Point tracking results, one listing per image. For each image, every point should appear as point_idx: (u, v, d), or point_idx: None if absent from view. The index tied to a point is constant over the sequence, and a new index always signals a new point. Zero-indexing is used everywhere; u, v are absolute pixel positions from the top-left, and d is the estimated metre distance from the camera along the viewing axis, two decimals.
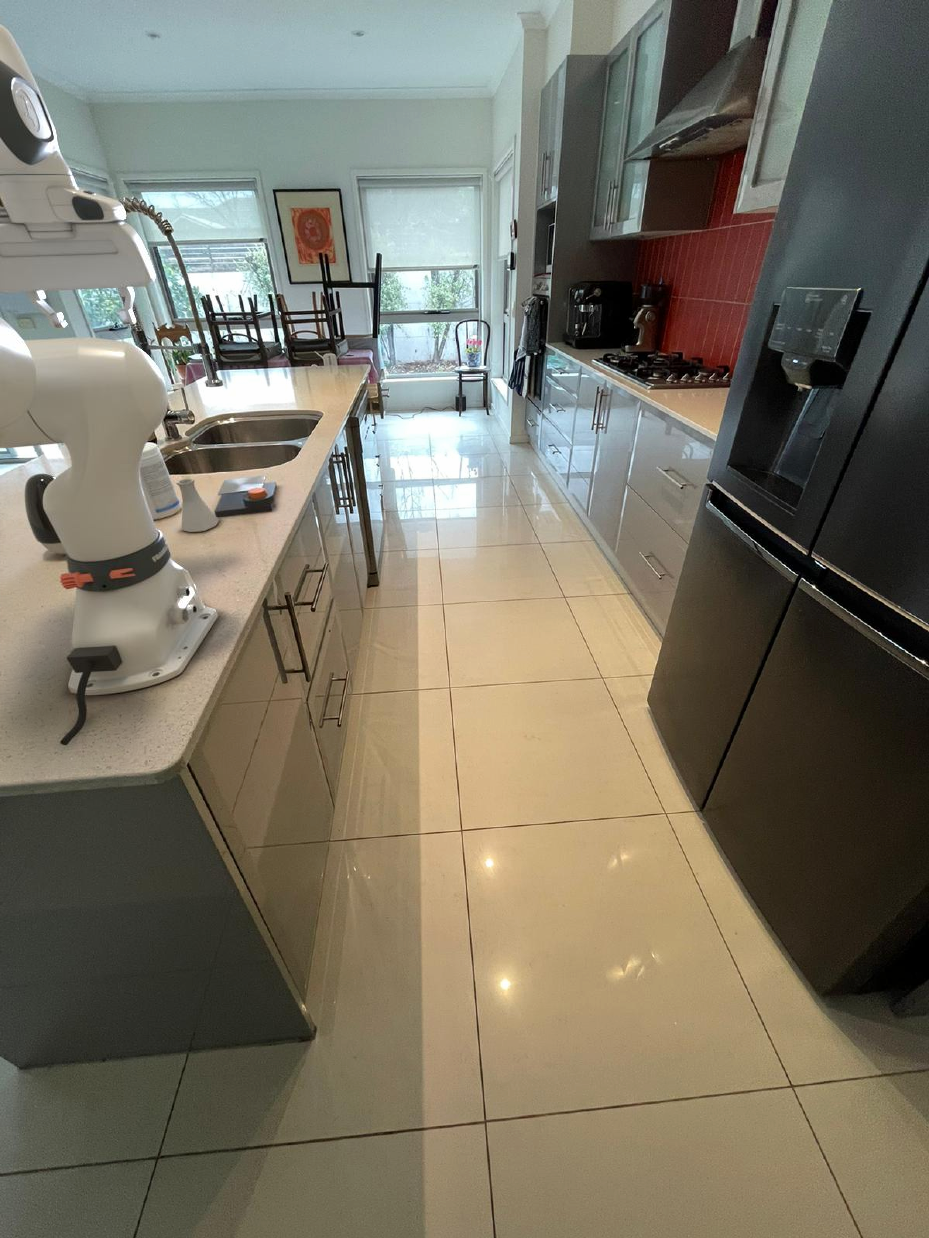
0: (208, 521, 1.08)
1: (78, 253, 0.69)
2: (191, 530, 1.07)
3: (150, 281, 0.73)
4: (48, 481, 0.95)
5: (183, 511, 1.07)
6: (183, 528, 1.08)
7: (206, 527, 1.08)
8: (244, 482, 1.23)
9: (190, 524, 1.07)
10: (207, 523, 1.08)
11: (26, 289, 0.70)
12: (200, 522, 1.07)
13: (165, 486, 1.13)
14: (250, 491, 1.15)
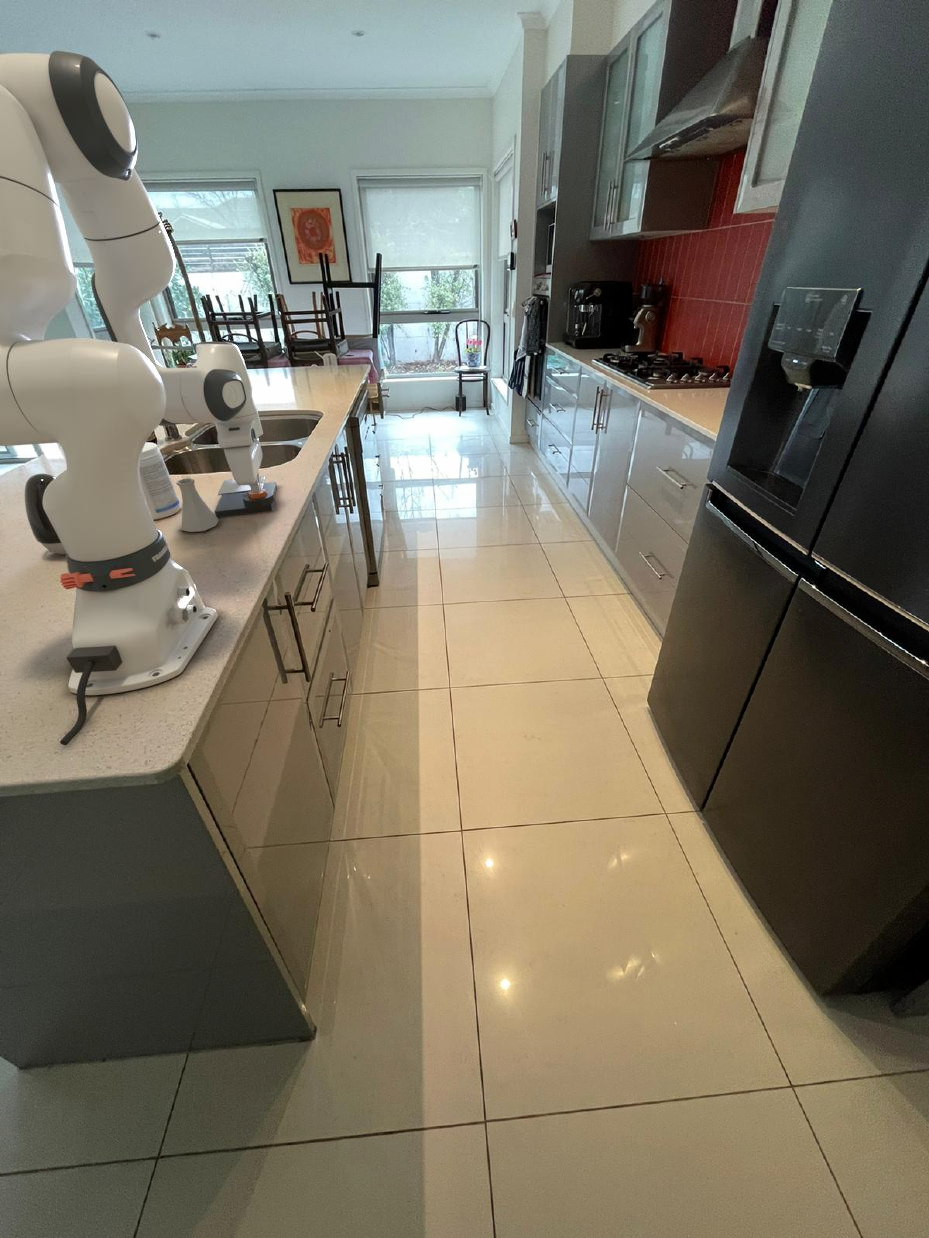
0: (208, 521, 1.08)
1: None
2: (191, 530, 1.07)
3: (239, 483, 1.05)
4: (48, 481, 0.95)
5: (183, 511, 1.07)
6: (183, 528, 1.08)
7: (206, 527, 1.08)
8: None
9: (190, 524, 1.07)
10: (207, 523, 1.08)
11: None
12: (200, 522, 1.07)
13: (165, 486, 1.13)
14: (250, 492, 1.15)
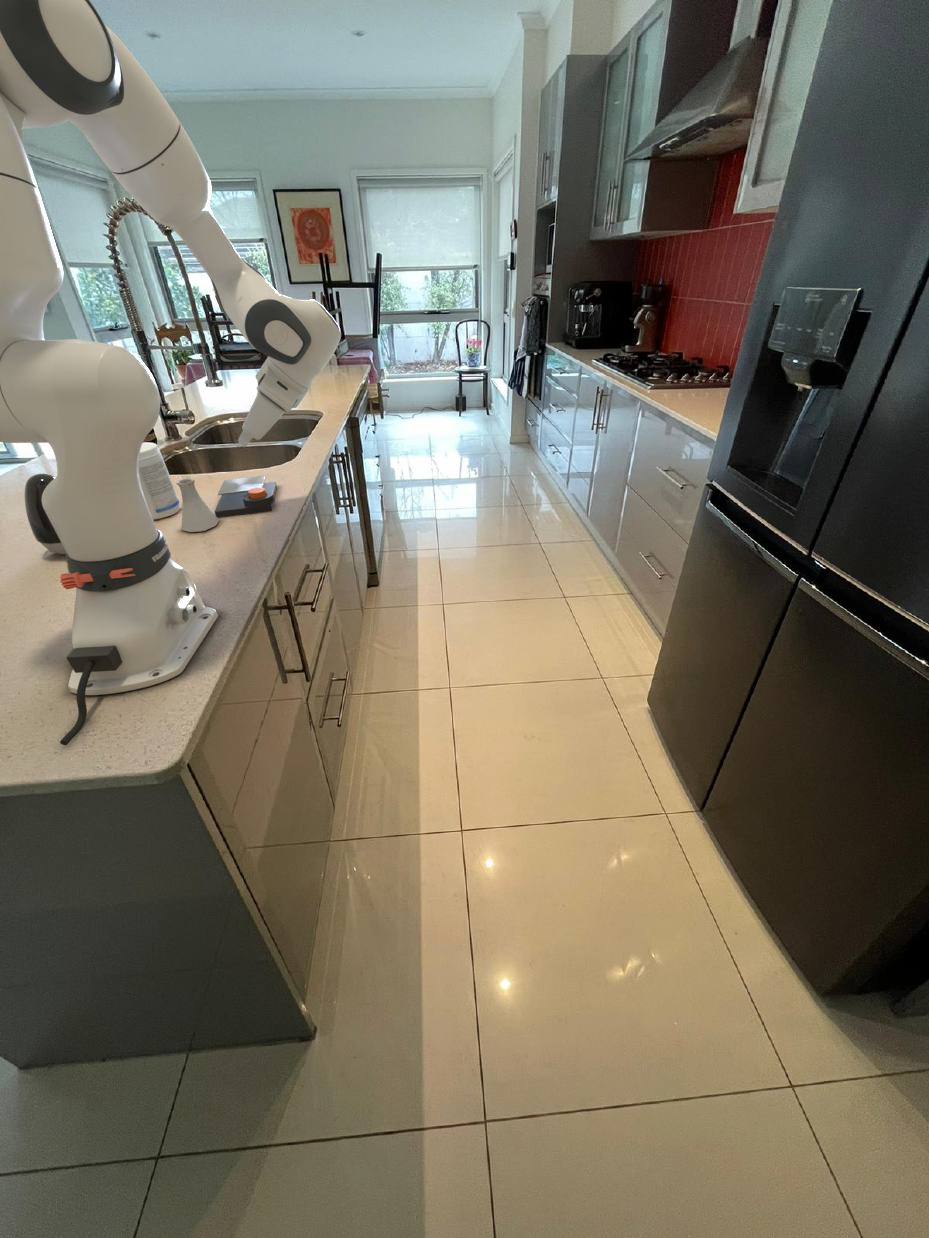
0: (208, 521, 1.08)
1: None
2: (191, 530, 1.07)
3: (245, 429, 0.93)
4: (48, 481, 0.95)
5: (183, 511, 1.07)
6: (183, 528, 1.08)
7: (206, 527, 1.08)
8: (244, 482, 1.23)
9: (190, 524, 1.07)
10: (207, 523, 1.08)
11: None
12: (200, 522, 1.07)
13: (165, 486, 1.13)
14: (250, 491, 1.15)
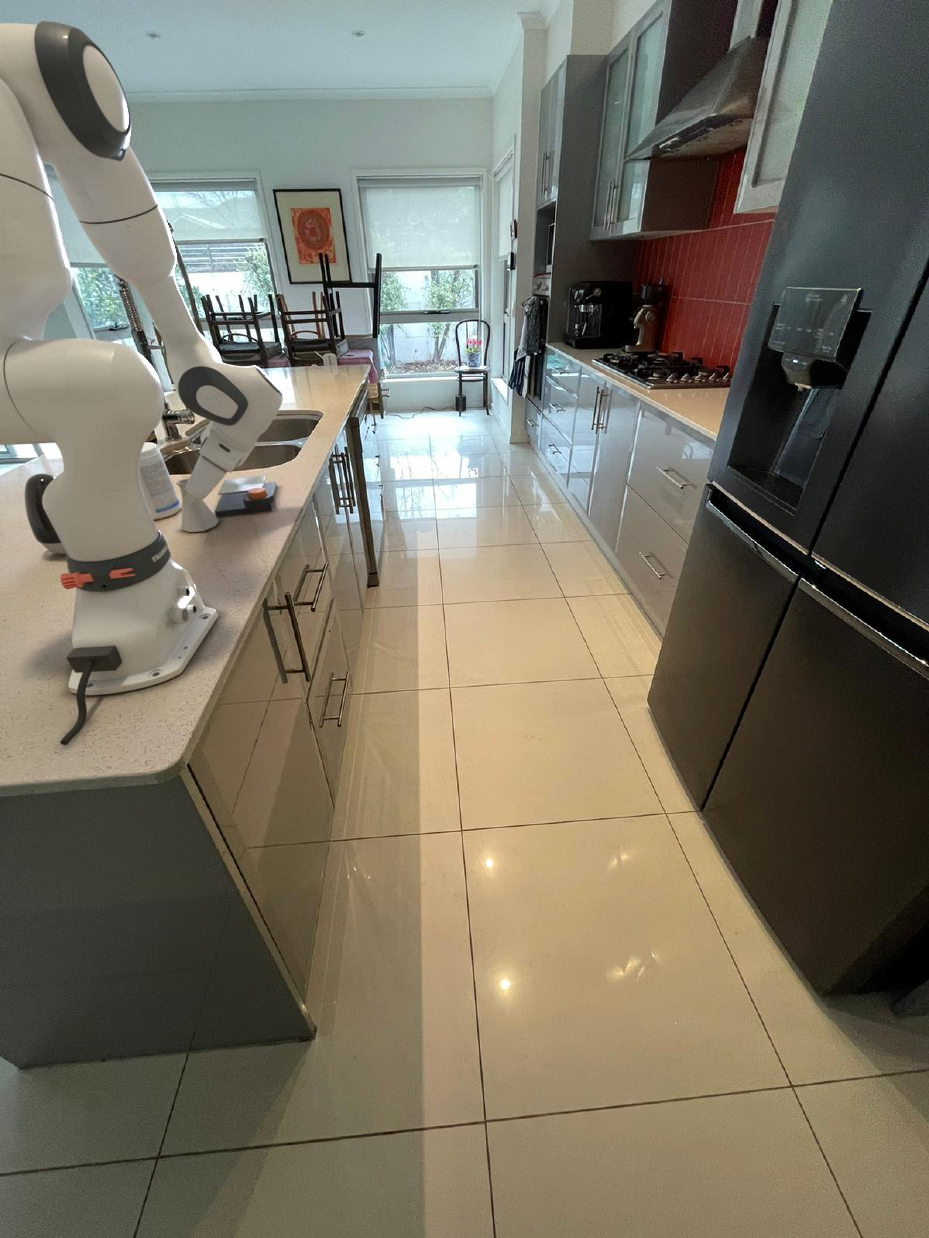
0: (207, 521, 1.08)
1: None
2: (191, 530, 1.08)
3: (188, 490, 0.97)
4: (48, 481, 0.95)
5: (183, 511, 1.07)
6: (183, 528, 1.08)
7: (206, 527, 1.08)
8: (244, 482, 1.23)
9: (190, 524, 1.07)
10: (207, 523, 1.08)
11: None
12: (200, 522, 1.07)
13: (165, 486, 1.13)
14: (250, 491, 1.15)
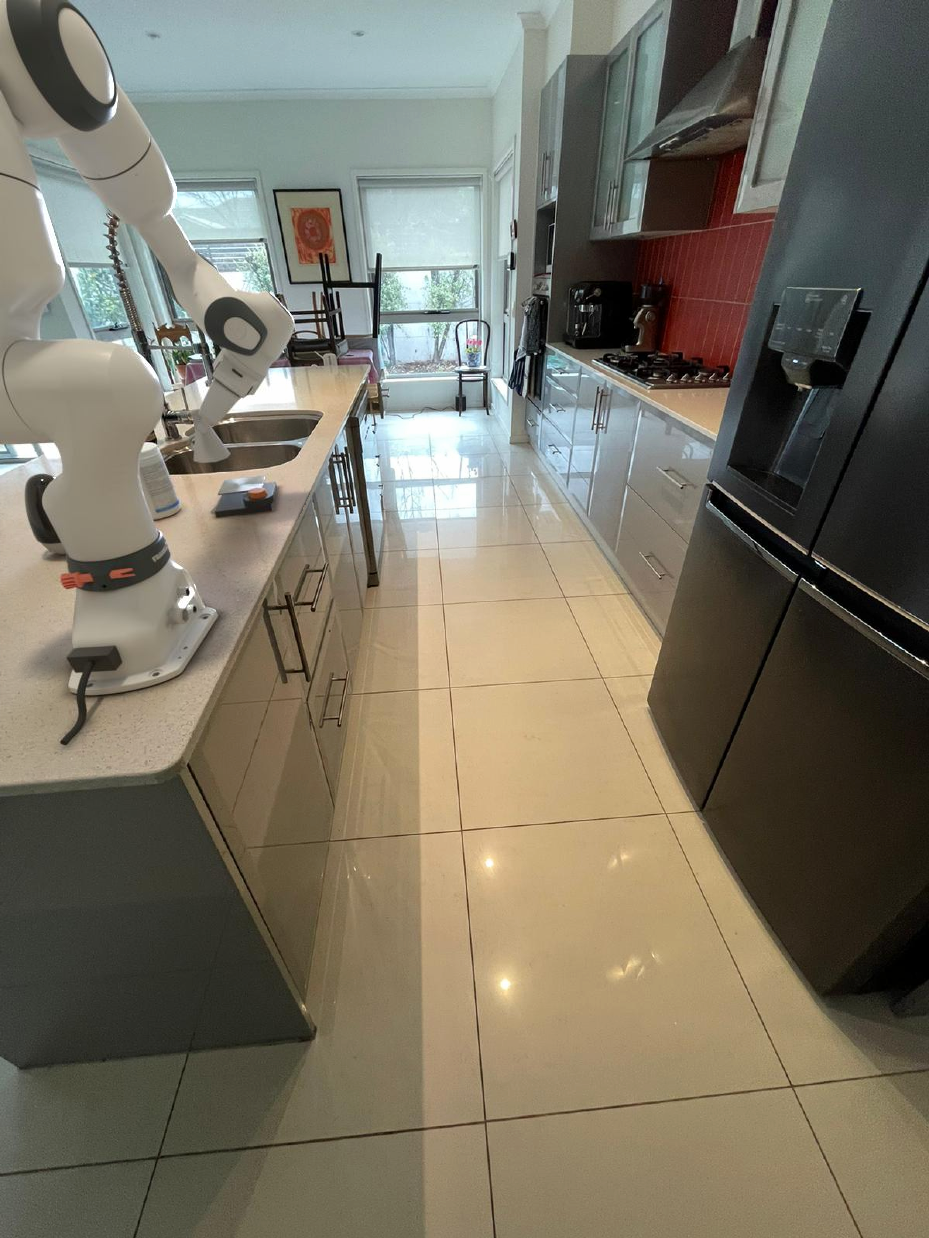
0: (219, 452, 1.10)
1: None
2: (203, 461, 1.09)
3: (201, 414, 0.98)
4: (48, 481, 0.95)
5: (195, 442, 1.08)
6: (195, 459, 1.09)
7: (218, 459, 1.09)
8: (244, 482, 1.23)
9: (202, 454, 1.08)
10: (219, 454, 1.10)
11: None
12: (212, 452, 1.08)
13: (165, 486, 1.13)
14: (250, 491, 1.15)
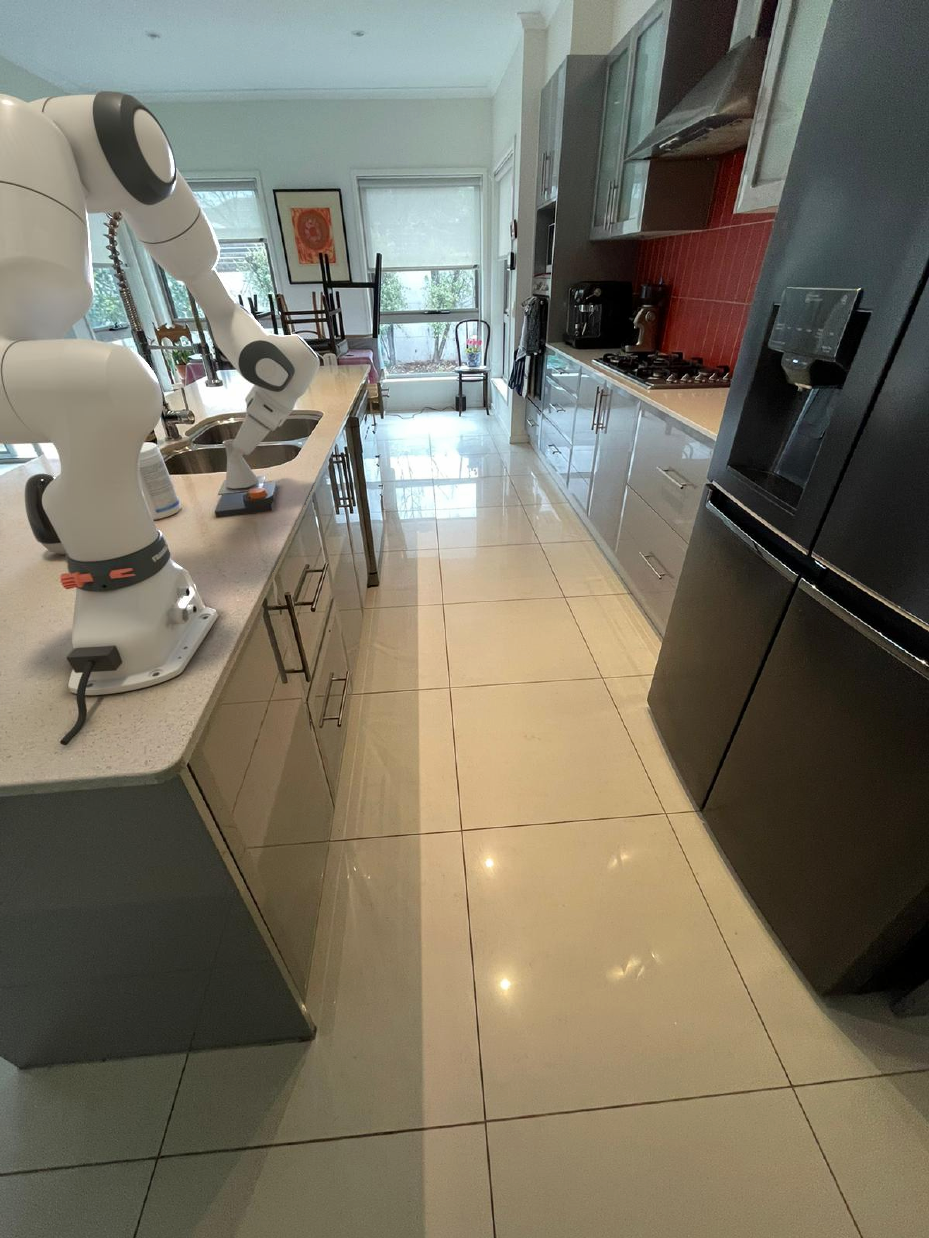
0: (249, 479, 1.20)
1: None
2: (234, 487, 1.19)
3: (235, 446, 1.08)
4: (48, 481, 0.95)
5: (227, 469, 1.18)
6: (227, 485, 1.19)
7: (248, 485, 1.19)
8: None
9: (234, 481, 1.18)
10: (248, 480, 1.20)
11: None
12: (242, 479, 1.18)
13: (165, 486, 1.13)
14: (250, 491, 1.15)
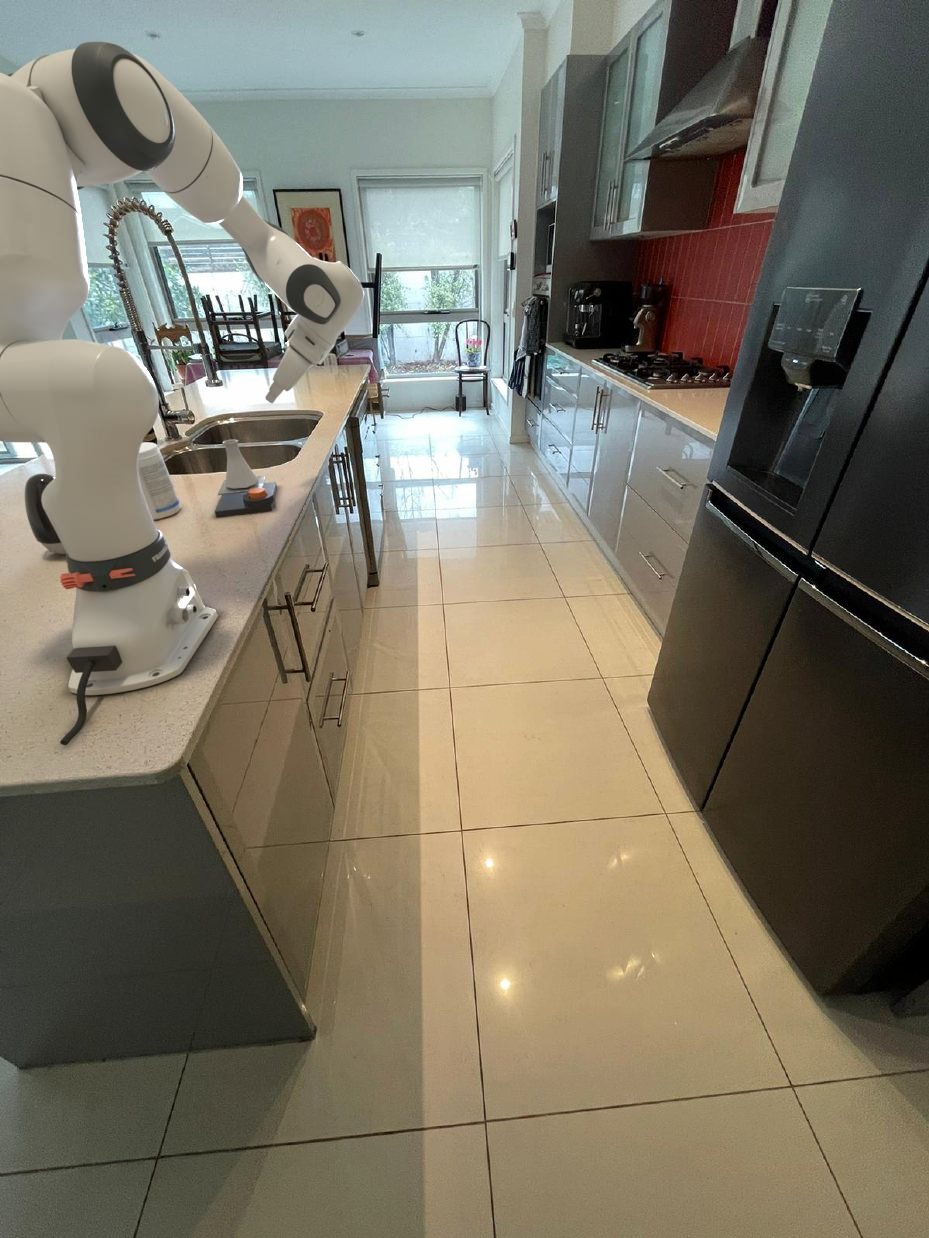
0: (249, 479, 1.20)
1: None
2: (234, 487, 1.19)
3: (275, 380, 1.01)
4: (48, 481, 0.95)
5: (227, 469, 1.18)
6: (227, 485, 1.19)
7: (248, 485, 1.19)
8: None
9: (234, 481, 1.18)
10: (248, 480, 1.20)
11: None
12: (242, 479, 1.18)
13: (165, 486, 1.13)
14: (250, 491, 1.15)
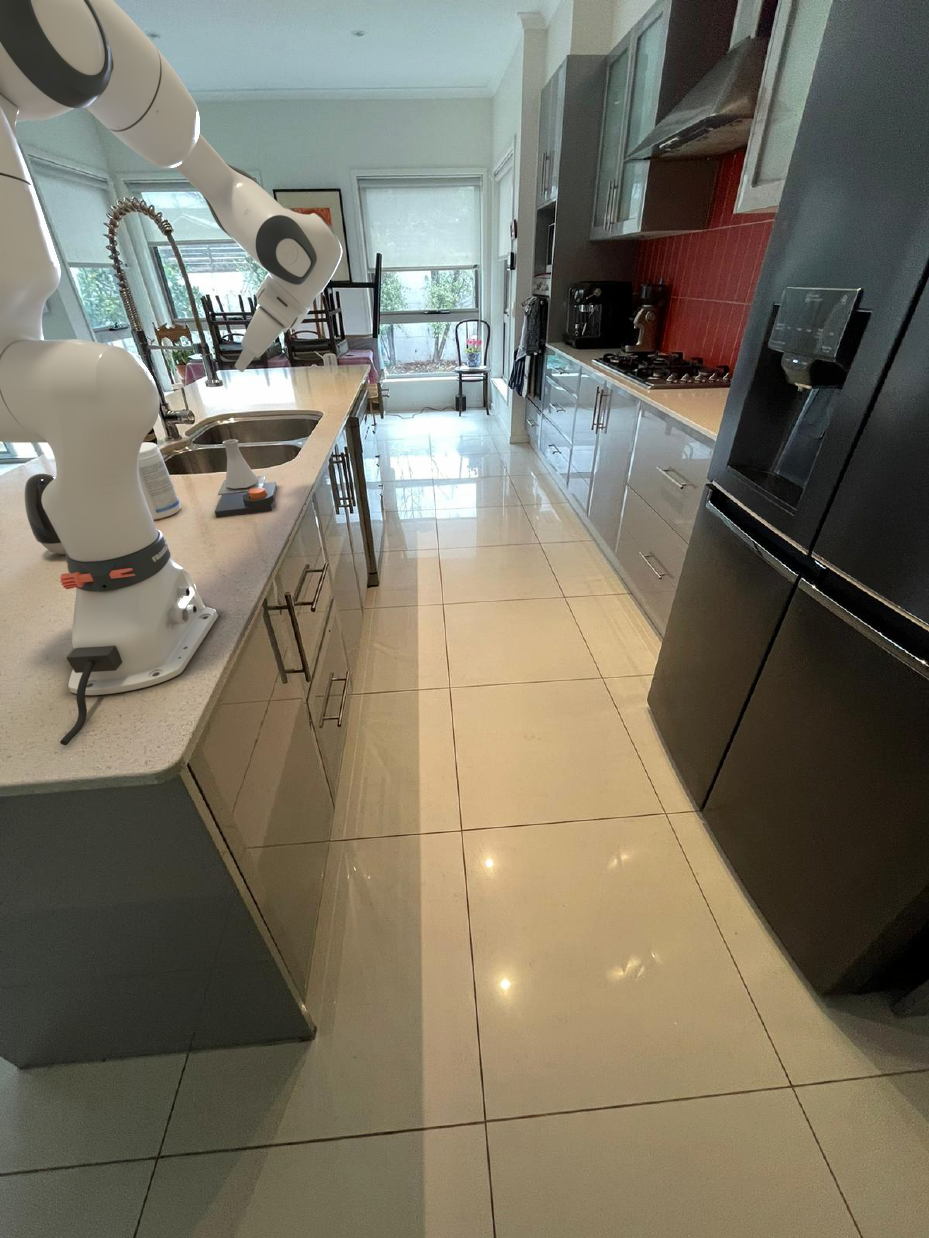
0: (249, 479, 1.20)
1: None
2: (234, 487, 1.19)
3: (244, 344, 0.92)
4: (48, 481, 0.95)
5: (227, 469, 1.18)
6: (227, 485, 1.19)
7: (248, 485, 1.19)
8: None
9: (234, 481, 1.18)
10: (248, 480, 1.20)
11: None
12: (242, 479, 1.18)
13: (165, 486, 1.13)
14: (250, 491, 1.15)
